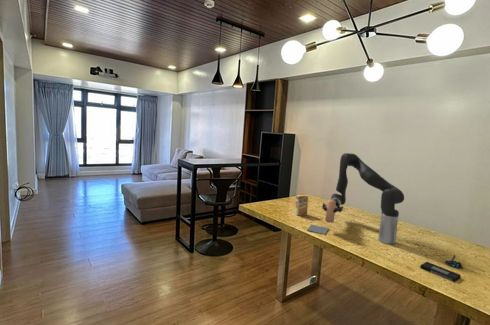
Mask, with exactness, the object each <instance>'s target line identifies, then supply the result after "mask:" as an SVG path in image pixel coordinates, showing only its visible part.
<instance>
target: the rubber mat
mask: <svg viewBox="0 0 490 325" xmlns="http://www.w3.org/2000/svg"><path fill="white" fill-rule="evenodd" d="M329 230H330V228H328V227H324V226H319V225H315V224H310V226H309V227H308V228H307V229H306V231H307V232H310V233H315V234H320V235H325V236H326V234H327V233H328V231H329Z"/></svg>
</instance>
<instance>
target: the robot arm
mask: <svg viewBox="0 0 490 325" xmlns="http://www.w3.org/2000/svg"><path fill="white" fill-rule="evenodd" d="M348 167H353V168H354V169H355V170H357V172H358V174H359V177H360V178H361V179H362V181H364V183H366V184H368V185H369V186H371V187H372V188H376V189H377V190H380V191H381V192H382V193H381V196H380V210H381V214H380V221H379V222H380V223H379V231H378V241H379V242H380V243H383V244H387V245H396V241H397V234H398V221H399V215H400V213H399V210H397V209H395V208H396V207H395V206H396V205H398V204H401V203H403V202H404V200H405V194H404V192H403V191H402V190H400V189H399V188H398V187H396V186H395V185H393V184H392V183H391V182H388V181H387V180H386V179H385V178H384V177H382V176H381V175H380V174H379V173H378V172H377V171H375V170H374V169H373V168H371V167H370V166H369V165H368V164H366V163H365V162H364V161H363V160H362V159H361V158H360V157H359V156H358V155H357V154H355V153H351V152H350V153H348V152H347V153H346V152H344V153H343V154H342V155H341V156H340V160H339V174H338V179H337V183H336V188H335V191H336V192H338V193H332V194H331V198H330V200H335V201H336V206H335V209H334V213H335V214H336V213H337V212H338V213H342V212H343V211H344V205H345V204H346V202H347V201H346V200H347V199H346V196H347V195H346V191H347V187H348V183H349V179H348V176H347V175H348V174H347V169H348ZM321 209H322V210H324V212H326V209H327V204H325V203H324V202H323V203H322V208H321Z"/></svg>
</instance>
